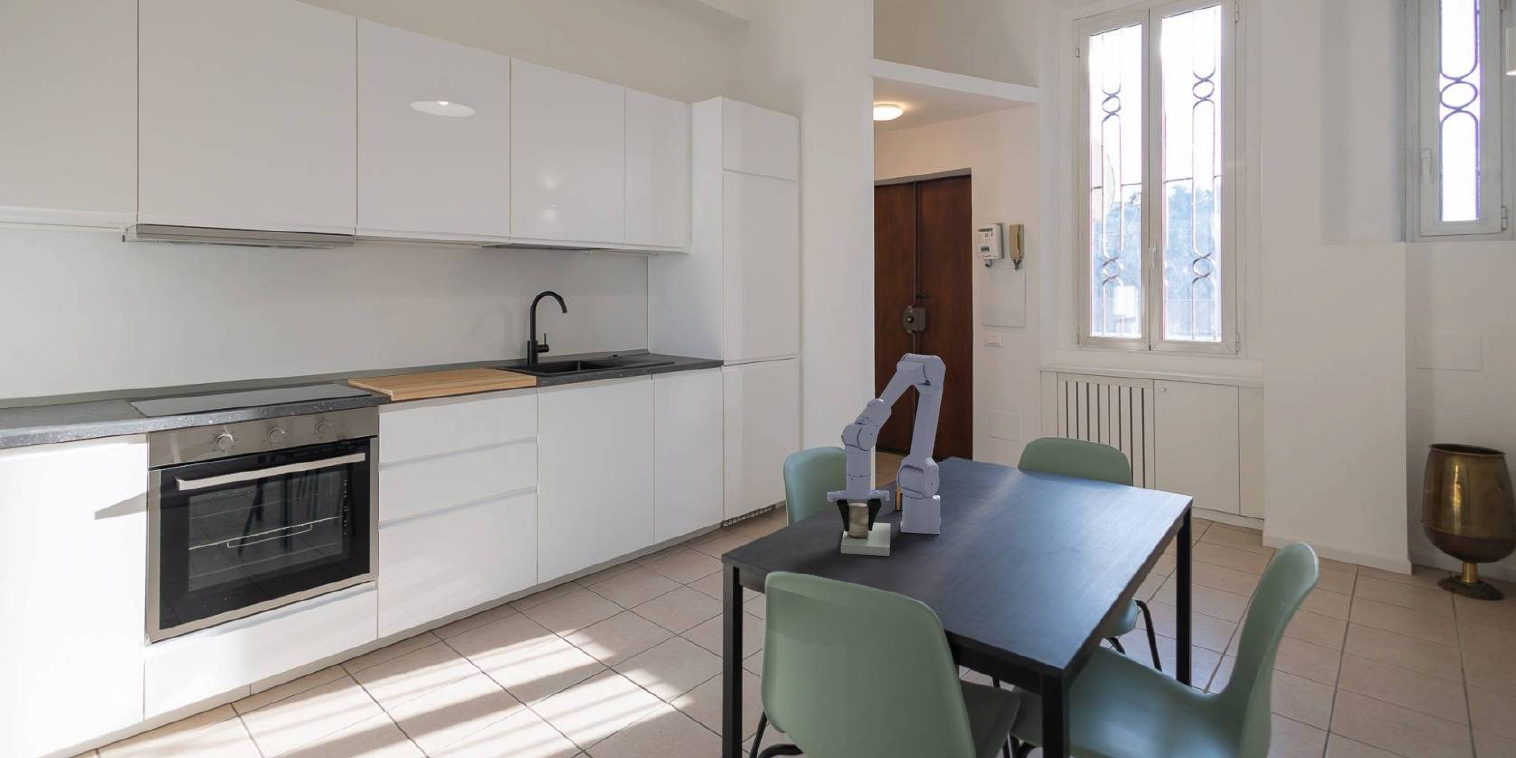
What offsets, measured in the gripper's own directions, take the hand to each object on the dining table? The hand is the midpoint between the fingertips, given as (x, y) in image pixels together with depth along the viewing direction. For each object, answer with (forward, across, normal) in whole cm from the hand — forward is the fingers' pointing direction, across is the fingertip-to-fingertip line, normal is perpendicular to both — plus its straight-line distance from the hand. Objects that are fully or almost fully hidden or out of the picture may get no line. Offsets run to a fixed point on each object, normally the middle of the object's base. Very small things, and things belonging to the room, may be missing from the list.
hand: (858, 530), depth 178 cm
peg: (+3, 0, 0) cm, 3 cm away
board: (+3, -2, -1) cm, 4 cm away
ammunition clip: (+4, -20, -30) cm, 36 cm away
